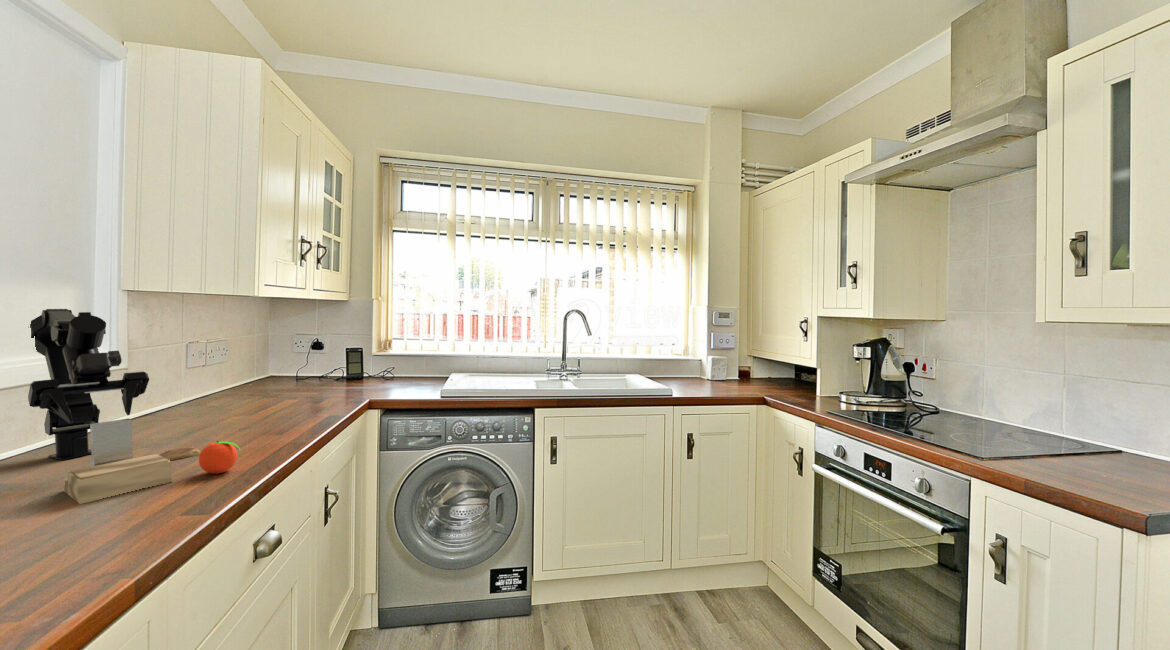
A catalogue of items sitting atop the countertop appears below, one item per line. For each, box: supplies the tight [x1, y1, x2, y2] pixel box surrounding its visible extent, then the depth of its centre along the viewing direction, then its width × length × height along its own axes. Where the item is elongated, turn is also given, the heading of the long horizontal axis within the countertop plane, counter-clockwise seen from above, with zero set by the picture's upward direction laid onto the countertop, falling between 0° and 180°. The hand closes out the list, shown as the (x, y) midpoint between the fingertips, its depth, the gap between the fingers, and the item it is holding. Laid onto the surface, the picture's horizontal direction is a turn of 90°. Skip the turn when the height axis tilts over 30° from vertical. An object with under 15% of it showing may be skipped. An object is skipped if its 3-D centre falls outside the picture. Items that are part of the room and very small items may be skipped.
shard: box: [159, 445, 201, 461], centre depth 123 cm, size 11×8×2 cm
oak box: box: [63, 453, 173, 505], centre depth 104 cm, size 12×14×5 cm
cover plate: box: [89, 418, 134, 466], centre depth 105 cm, size 2×6×13 cm, turn 146°
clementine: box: [198, 440, 242, 475], centre depth 112 cm, size 8×7×7 cm
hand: (101, 417), depth 109 cm, fingers open, 9 cm apart
